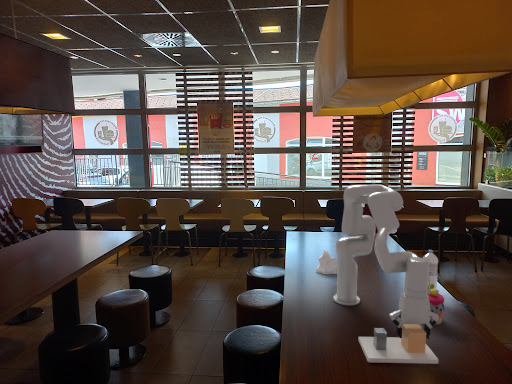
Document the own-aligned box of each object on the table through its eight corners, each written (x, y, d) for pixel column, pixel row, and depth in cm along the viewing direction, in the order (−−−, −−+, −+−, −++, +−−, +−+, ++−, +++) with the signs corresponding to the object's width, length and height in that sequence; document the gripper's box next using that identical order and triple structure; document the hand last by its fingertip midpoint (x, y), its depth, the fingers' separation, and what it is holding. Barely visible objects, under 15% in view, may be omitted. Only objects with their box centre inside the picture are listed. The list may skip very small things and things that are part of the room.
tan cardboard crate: (401, 342, 132) (402, 323, 131) (417, 343, 131) (419, 324, 130) (407, 352, 125) (408, 332, 124) (425, 352, 125) (426, 332, 124)
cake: (448, 323, 149) (451, 289, 147) (428, 326, 146) (430, 292, 144) (430, 312, 159) (432, 280, 157) (410, 315, 156) (412, 283, 154)
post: (373, 348, 131) (373, 327, 130) (382, 348, 131) (383, 328, 130) (375, 353, 127) (376, 333, 126) (386, 353, 127) (386, 333, 126)
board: (358, 340, 136) (358, 336, 136) (421, 341, 135) (421, 337, 135) (368, 362, 122) (368, 358, 122) (438, 363, 121) (438, 359, 121)
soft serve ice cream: (332, 279, 202) (327, 257, 199) (312, 275, 214) (307, 254, 211) (344, 269, 210) (340, 248, 207) (324, 265, 222) (320, 245, 218)
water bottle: (423, 295, 177) (426, 247, 174) (437, 299, 172) (440, 250, 169) (417, 299, 172) (420, 250, 169) (432, 304, 167) (435, 253, 164)
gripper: (435, 288, 129) (432, 331, 131) (387, 287, 130) (385, 330, 132) (445, 297, 122) (441, 343, 124) (394, 296, 122) (392, 341, 125)
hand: (412, 336), depth 128 cm, fingers open, 9 cm apart
